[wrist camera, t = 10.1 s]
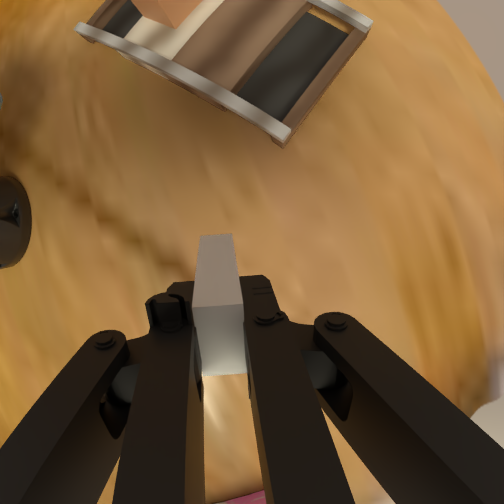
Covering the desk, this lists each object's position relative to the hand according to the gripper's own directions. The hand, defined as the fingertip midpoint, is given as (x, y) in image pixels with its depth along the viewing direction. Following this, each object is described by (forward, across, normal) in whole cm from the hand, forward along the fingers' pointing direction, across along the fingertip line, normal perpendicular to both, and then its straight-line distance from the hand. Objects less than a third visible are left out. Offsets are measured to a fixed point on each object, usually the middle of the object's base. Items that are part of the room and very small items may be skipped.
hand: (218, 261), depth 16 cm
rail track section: (+30, +1, +21) cm, 37 cm away
